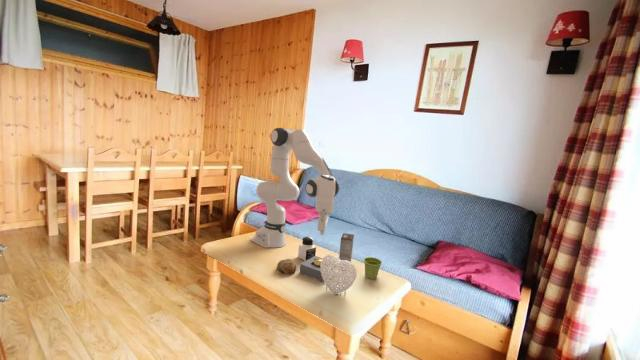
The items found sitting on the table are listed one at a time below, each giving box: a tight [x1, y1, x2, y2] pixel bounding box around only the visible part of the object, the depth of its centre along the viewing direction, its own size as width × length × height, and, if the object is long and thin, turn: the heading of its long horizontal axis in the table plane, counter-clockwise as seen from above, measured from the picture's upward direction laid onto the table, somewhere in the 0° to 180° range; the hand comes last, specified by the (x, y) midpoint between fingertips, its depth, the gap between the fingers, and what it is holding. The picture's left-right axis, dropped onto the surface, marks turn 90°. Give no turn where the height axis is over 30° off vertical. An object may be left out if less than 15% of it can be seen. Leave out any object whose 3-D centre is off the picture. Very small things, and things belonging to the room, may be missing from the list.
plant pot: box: [363, 256, 383, 280], centre depth 163 cm, size 9×9×9 cm
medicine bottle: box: [297, 236, 317, 262], centre depth 178 cm, size 7×7×12 cm
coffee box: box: [338, 232, 355, 266], centre depth 175 cm, size 9×6×16 cm
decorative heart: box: [320, 254, 357, 298], centre depth 142 cm, size 18×11×17 cm, turn 53°
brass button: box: [313, 257, 324, 267], centre depth 161 cm, size 6×6×4 cm
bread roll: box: [276, 258, 297, 276], centre depth 161 cm, size 10×10×8 cm
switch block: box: [299, 255, 336, 283], centre depth 162 cm, size 14×14×5 cm
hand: (322, 234), depth 159 cm, fingers closed
